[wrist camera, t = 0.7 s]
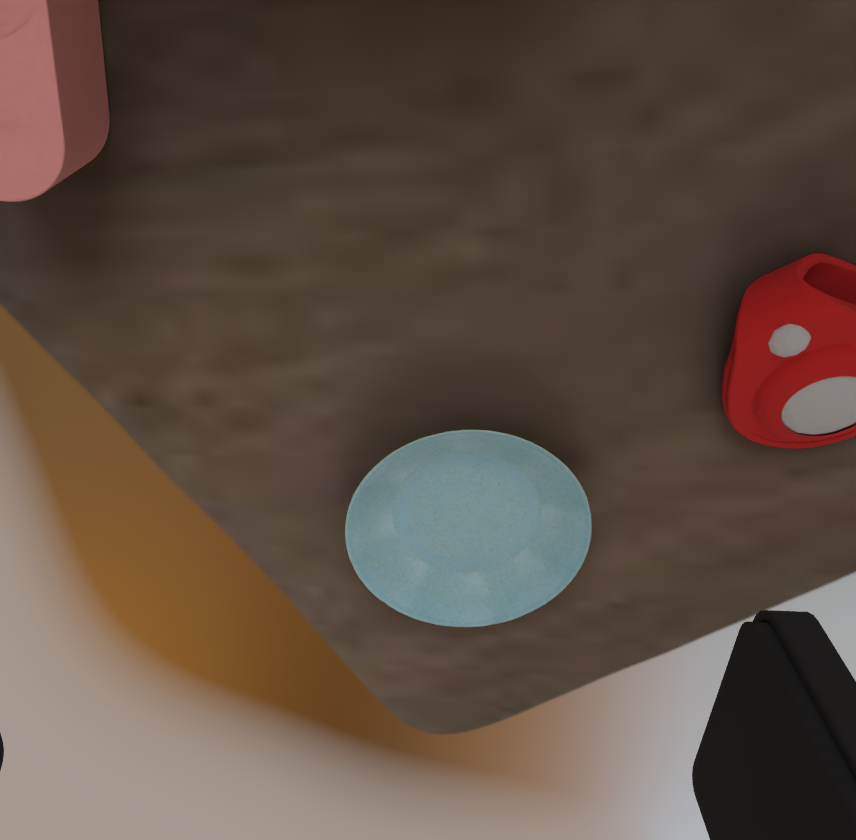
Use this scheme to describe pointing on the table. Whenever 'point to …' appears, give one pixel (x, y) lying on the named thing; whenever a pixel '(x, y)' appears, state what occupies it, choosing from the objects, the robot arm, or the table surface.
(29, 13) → the pink notched rounded block
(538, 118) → the table surface
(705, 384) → the table surface
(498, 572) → the saucer
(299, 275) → the table surface
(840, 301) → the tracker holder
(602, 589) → the table surface
